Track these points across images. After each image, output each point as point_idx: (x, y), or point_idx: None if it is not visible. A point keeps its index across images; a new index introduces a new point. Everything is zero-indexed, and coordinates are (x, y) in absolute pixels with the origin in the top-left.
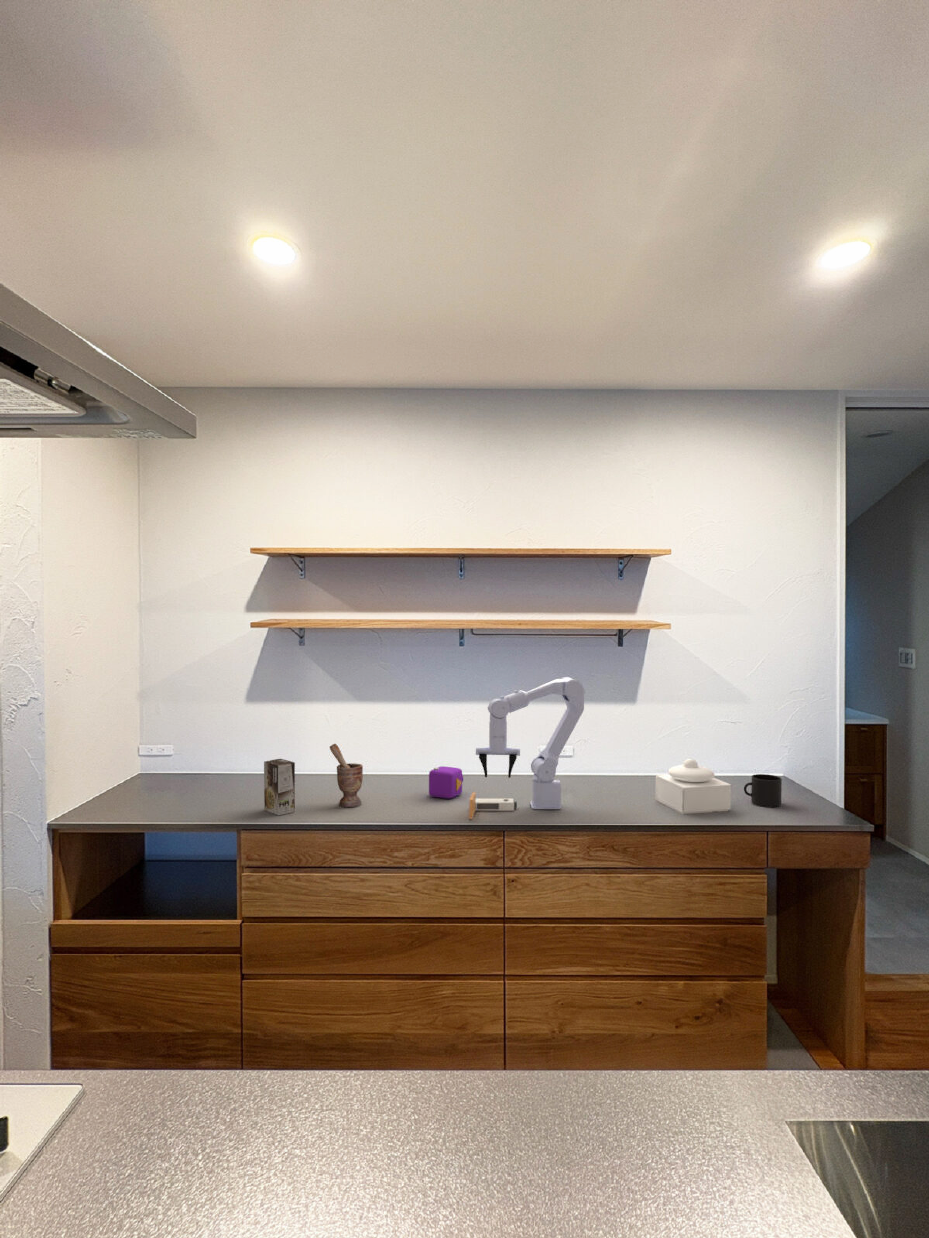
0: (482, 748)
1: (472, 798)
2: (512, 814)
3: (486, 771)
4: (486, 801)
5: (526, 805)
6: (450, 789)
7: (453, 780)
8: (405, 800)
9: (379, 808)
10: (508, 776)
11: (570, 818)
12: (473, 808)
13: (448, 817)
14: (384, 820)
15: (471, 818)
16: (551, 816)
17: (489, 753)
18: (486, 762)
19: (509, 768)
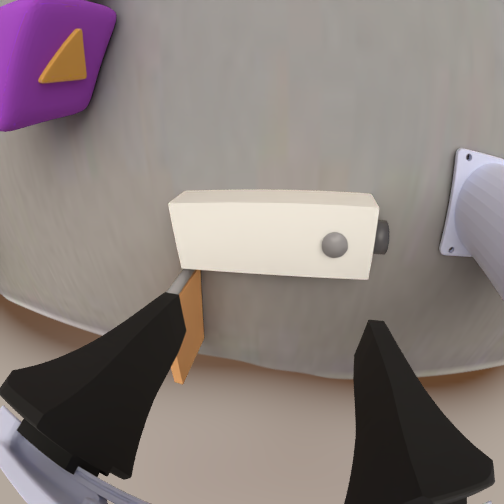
0: (12, 475)
1: (180, 374)
2: (344, 303)
3: (166, 370)
4: (233, 255)
5: (434, 183)
6: (59, 116)
7: (36, 107)
8: (12, 151)
9: (8, 227)
10: (355, 364)
11: (489, 334)
12: (194, 327)
13: (139, 309)
14: (50, 304)
15: (202, 339)
16: (458, 322)
17: (117, 500)
18: (131, 422)
19: (360, 431)
